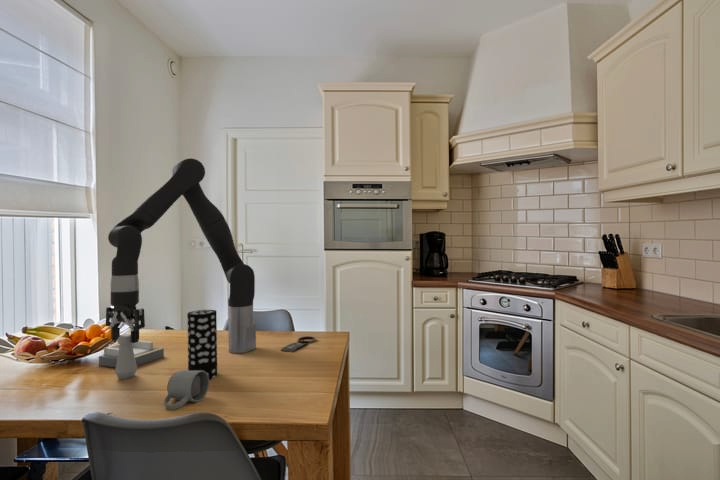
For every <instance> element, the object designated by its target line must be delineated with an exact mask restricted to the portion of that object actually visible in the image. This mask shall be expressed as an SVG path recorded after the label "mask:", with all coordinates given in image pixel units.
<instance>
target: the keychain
mask: <svg viewBox="0 0 720 480" xmlns="http://www.w3.org/2000/svg"><path fill="white" fill-rule="evenodd" d="M316 341H317V337H314V336H310V335H309V336H301V337H298V338H297V341H296V342H293V343H292V342H291V343H289V344H287V345H286V346H284V347H282V348H281V349H280V351H281V352H289V353H295V351H296V350H297V349H299V348H301V347H303V346H308V345H309V344H312V343H316Z"/></svg>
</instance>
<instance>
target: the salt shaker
mask: <svg viewBox="0 0 720 480" xmlns="http://www.w3.org/2000/svg"><path fill="white" fill-rule="evenodd" d="M117 344H120V347H119V353H118V359H117V365H116V367H115V374H116V377H117V378H118V380H127V379H131V378H132V377H134V376H135V375H136V372H137V370H138V366H137V365H136V361H135V356H134V352H133V347H132V343H131V334H122V335H120V336H119V337H118V340H117Z"/></svg>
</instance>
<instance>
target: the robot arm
mask: <svg viewBox="0 0 720 480" xmlns="http://www.w3.org/2000/svg"><path fill="white" fill-rule="evenodd" d="M205 175H206V168H205V166H204V165H203V163H202V162H201V161H200V160H198V159H197V158H185V159H183V160H181V161H180V162H178V163H177V164H176V165H174V167H172V168H171V177H170V178H169V180H168V181H166V182H165V183H164V184H163V185H162V186H161V187H160V188H158V189H157V190H156V191H154V192H153V193H152V194H151V195H149V196H148V198H146V199H145V200H144V201H143V202H142V203H141V204H139V205H138V207H137V208H136V209H134V211H133V212H132V213H131V214H130V215H128V216H126V217H125V218H123V219H122V220H121V221H119V222H118V223H117V224H116V225H114V226H113V228H111V229H110V231H109V233H108V236H107V237H108V238H107V239H108V242H109V244H110V245H111V246H113V247H114V248H116V255H115V256H114V257H113V259H112V260H111V278H110V305H111V306H108V307H107V306H106V310H105V326H106V327H109V328H110V330H111V331H110V334H111V336H110V337H111V341H114V342H115V341H118V337H119V336H121V335H120V334H121V331H120V330H121V328H120V326H121V324H122V323H124V324H126V326H128V328H129V329H130V335H131V343H135V342H138V341H140V330H141V329H144V328H145V327H146V324H145V322H146V321H145V320H146V319H145V309H144V308H137V304H139V302H140V281H139V258H140V254H141V251H142V250H141V249H142V246H143V245H142V244H143V236H142V233H143V232H144V231H146V230H148V229H150V228H151V227H153V226H154V225H155V224H156V223H157V222H158V221H159V220H160V219H161V218H162V217H163V216H164V215H165V214H166V213H167V212H168V210H169V209H170V208H171V207H172V206H173V205H174V203H176V202H177V201H178V200H179V198H180V197H182V196H183V197H184V199H185V201H186V203H187V205H188V206H189V208H190V210H191V212H192V214H193V216H194V218H195V220H196V221H197V223H198V226H199V228H200V230H201V232H202V233H203V236H204V238H205V239H206V241H207V242H208V244H209V246H210V248H211V249H212V250H213V252H214V253H215V255H216V257H217V258H218V261H219V263H220V265H221V269H222V271H223V273H224V276H225V279H226V281H227V282H228V283H229V297H228V300H227V305H228V306H227V307H228V308H227V310H228V313H227V316H228V320H227V323H228V326H227V327H228V352H229V353H233V354H241V353H243V354H247V353H249V352H251V351H253V350H255V349H257V332H256V331H257V328H256V326H257V325H256V323H254V299H255V295H256V294H255V292H256V287H255V284H256V281H255V280H256V278H255V277H256V275H255V271H254V269H253V268H252V267H251V266H250V265H249V264H245V263H244V262H243V260H242V258H241V257H240V255H239V253H238V252H237V249H236V247H235V243H234V238H233V235H232V232H231V229H230V227H229V224H228V222H227V221H226V218H225V217H224V215H223V213H222V212H221V210H220V209H218V207H217V206H216V205H214V204H213V203H212V202H211V201H210V199H209V198H208V197H207V196H206V195H205V192H204V191H203V188H202V186H201V184H200V183H201V182H202V181H203V180H204V178H205Z"/></svg>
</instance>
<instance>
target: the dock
mask: <svg viewBox="0 0 720 480" xmlns="http://www.w3.org/2000/svg"><path fill="white" fill-rule="evenodd" d="M119 347H120V344H118V343H117V344H114V345H110V346H106V347H103V351H104V352H103V354H102V355H99V356H98V365H99V366H104V367H110V368H116V365H117V359H118V353H119ZM132 347H133V352H134V356H135V361H136V365H137V367H138V366H141V365H145V364H147V363H151V362H152V361H156V360H158V359H162V358H164V357H165V352H164V350H165V349H164V347H154V341H147V340H139V341H138V342H135V343H132Z"/></svg>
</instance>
